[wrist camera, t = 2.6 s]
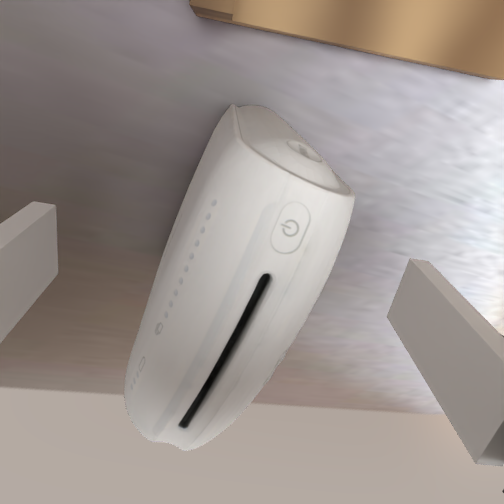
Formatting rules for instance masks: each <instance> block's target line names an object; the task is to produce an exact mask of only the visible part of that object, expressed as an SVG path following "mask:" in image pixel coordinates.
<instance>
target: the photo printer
mask: <svg viewBox="0 0 504 504" xmlns="http://www.w3.org/2000/svg"><path fill="white" fill-rule="evenodd" d="M354 202H355V193H354V192H353V190H352V189H351V188H350V187H348V186H347V185H346V184H345V183H344V182H343V181H342V180H341V179H340V178H339V177H338V176H337V175H336V174H335V173H334V172H333V171H332V170H331V168H330V167H329V165H328V164H327V163H326V161H325V160H324V159H323V158H322V157H321V156H320V155H319V154H318V153H317V152H316V151H315V150H314V149H313V148H312V147H311V146H310V145H309V144H308V143H307V142H306V141H305V140H304V139H303V138H302V137H301V136H300V135H299V134H298V133H297V132H296V131H295V130H294V129H292V128H291V127H290V126H289V125H288V124H287V123H286V122H285V121H284V120H283V119H282V118H281V117H280V116H279V115H277V114H276V113H275V112H273V111H272V110H270V109H268V108H265V107H262V106H257V105H247V106H242V107H237V106H236V105H234V104H232V105H230V107H229V108H228V109H227V111H226V112H225V113H224V115H223V116H222V118H221V119H220V121H219V122H218V124H217V126H216V128H215V130H214V132H213V134H212V136H211V138H210V140H209V142H208V144H207V146H206V149H205V151H204V153H203V155H202V157H201V160H200V162H199V164H198V167H197V169H196V171H195V174H194V176H193V178H192V180H191V183H190V185H189V187H188V190H187V192H186V195H185V197H184V200H183V202H182V205H181V207H180V210H179V212H178V215H177V217H176V220H175V222H174V225H173V228H172V230H171V233H170V236H169V239H168V241H167V244H166V247H165V250H164V253H163V255H162V258H161V261H160V264H159V267H158V271H157V274H156V277H155V280H154V283H153V286H152V289H151V293H150V296H149V299H148V302H147V305H146V308H145V312H144V315H143V318H142V321H141V324H140V327H139V330H138V334H137V337H136V340H135V343H134V346H133V349H132V352H131V355H130V358H129V362H128V366H127V370H126V376H125V389H124V398H125V405H126V409H127V412H128V415H129V416H130V418H131V420H132V423H133V424H134V425H135V427H136V428H137V429H138V430H139V432H140V433H141V434H142V435H143V436H144V437H145V438H146V439H148V440H149V441H151V442H167V443H170V444H173V445H175V446H177V447H178V448H180V449H181V450H183V451H187V450H192V449H195V448H198V447H200V446H202V445H203V444H205V443H207V442H208V441H210V440H212V439H213V438H215V437H216V436H217V435H219V434H220V433H221V432H223V431H224V430H225V429H226V428H227V427H228V426H229V425H231V424H232V423H233V422H234V421H235V420H236V419H237V418H238V417H239V416H240V414H241V413H242V412H243V411H244V410H245V409H246V408H247V407H248V405H249V404H250V403H251V402H252V401H253V399H254V398H255V397H256V395H257V394H258V393H259V392H260V390H261V389H262V388H263V386H264V385H265V384H266V383H267V382H268V381H269V380H270V378H271V377H272V375H273V373H274V371H275V369H276V367H277V366H278V365H279V364H280V362H281V361H282V360H283V359H284V357H285V354H286V352H287V351H288V349H289V348H290V346H291V345H292V343H293V341H294V340H295V338H296V336H297V335H298V333H299V331H300V330H301V328H302V326H303V324H304V323H305V321H306V319H307V317H308V316H309V314H310V312H311V310H312V308H313V306H314V305H315V303H316V301H317V299H318V297H319V295H320V293H321V291H322V289H323V287H324V285H325V283H326V281H327V279H328V277H329V275H330V273H331V271H332V269H333V266H334V264H335V260H336V258H337V256H338V253H339V251H340V248H341V246H342V243H343V240H344V237H345V234H346V231H347V228H348V225H349V222H350V218H351V214H352V210H353V206H354Z"/></svg>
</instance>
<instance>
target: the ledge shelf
mask: <svg viewBox="0 0 504 504" xmlns="http://www.w3.org/2000/svg"><path fill="white" fill-rule="evenodd" d="M189 5H190V6H191V8H192V9H193V11H194V12H195V14H196V15H197V16H199V17H204V18H209V19H213V20H218V21H222V22H227V23H232V24H236V25H241V26H246V27H250V28H255V29H260V30H264V31H269V32H274V33H278V34H283V35H288V36H292V37H297V38H302V39H306V40H311V41H315V42H320V43H325V44H329V45H334V46H339V47H343V48H348V49H353V50H357V51H362V52H367V53H371V54H376V55H381V56H385V57H390V58H395V59H399V60H404V61H408V62H413V63H418V64H422V65H427V66H432V67H436V68H441V69H446V70H450V71H455V72H460V73H464V74H469V75H474V76H478V77H483V78H488V79H496V80H504V0H190V3H189Z"/></svg>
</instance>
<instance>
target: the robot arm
mask: <svg viewBox="0 0 504 504" xmlns="http://www.w3.org/2000/svg"><path fill="white" fill-rule="evenodd" d="M57 275H58V247H57V217H56V205H54V204H47V203H41V202H34V201H33V202H31V203H30V204H28V205H27V206H25V207H24V208H23V209H21V210H20V211H18V212H17V213H15V214H14V215H12V216H11V217H10V218H8V219H7V220H5V221H4V222H2V223H1V224H0V343H1V342H2V341H3V340H4V338H5V337H6V336H7V335H8V334H9V332H10V331H11V330H12V329H13V327H14V326H15V325H16V324H17V323H18V321H19V320H20V319H21V318H22V317H23V315H24V314H25V313H26V312H27V311H28V309H29V308H30V307H31V306H32V305H33V303H34V302H35V301H36V300H37V299H38V297H39V296H40V295H41V294H42V293H43V291H44V290H45V289H46V288H47V287H48V285H49V284H50V283H51V282H52V281H53V279H54V278H55V277H56V276H57ZM387 318H388V320H389V321H390V323H391V325H392V326H393V328H394V330H395V331H396V333H397V335H398V336H399V338H400V340H401V341H402V343H403V345H404V346H405V348H406V350H407V351H408V353H409V354H410V356H411V358H412V359H413V361H414V363H415V364H416V366H417V368H418V369H419V371H420V373H421V374H422V376H423V378H424V379H425V381H426V383H427V384H428V386H429V388H430V389H431V391H432V393H433V394H434V396H435V397H436V399H437V401H438V402H439V404H440V406H441V407H442V409H443V411H444V412H445V414H446V416H447V417H448V419H449V421H450V422H451V424H452V426H453V427H454V429H455V431H456V432H457V434H458V435H459V437H460V439H461V440H462V442H463V444H464V445H465V447H466V449H467V450H468V452H469V454H470V455H471V457H472V459H473V460H474V462H475V463H476V464H483V465H494V466H503V464H504V336H503V335H501V334H500V333H499V332H498V331H497V330H496V329H495V328H494V327H493V326H492V325H491V324H490V323H489V322H488V321H487V320H486V319H485V318H484V317H483V316H482V315H481V314H480V313H479V312H478V311H477V310H476V309H475V308H474V307H473V306H472V305H471V304H470V303H469V302H468V301H467V300H466V299H465V298H464V297H463V296H462V295H461V294H460V293H459V292H458V291H457V290H456V289H455V288H454V287H453V286H452V285H451V284H450V283H449V282H448V281H447V280H446V279H445V278H444V277H443V275H442V274H441V273H440V272H439V271H438V270H437V269H436V268H435V267H434V266H433V265H432V264H431V263H430V262H429V261H424V260H418V259H411V258H410V259H409V262H408V264H407V267H406V269H405V272H404V274H403V277H402V280H401V282H400V285H399V287H398V290H397V292H396V295H395V297H394V300H393V302H392V305H391V307H390V310H389V312H388V315H387ZM503 493H504V490H503Z"/></svg>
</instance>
